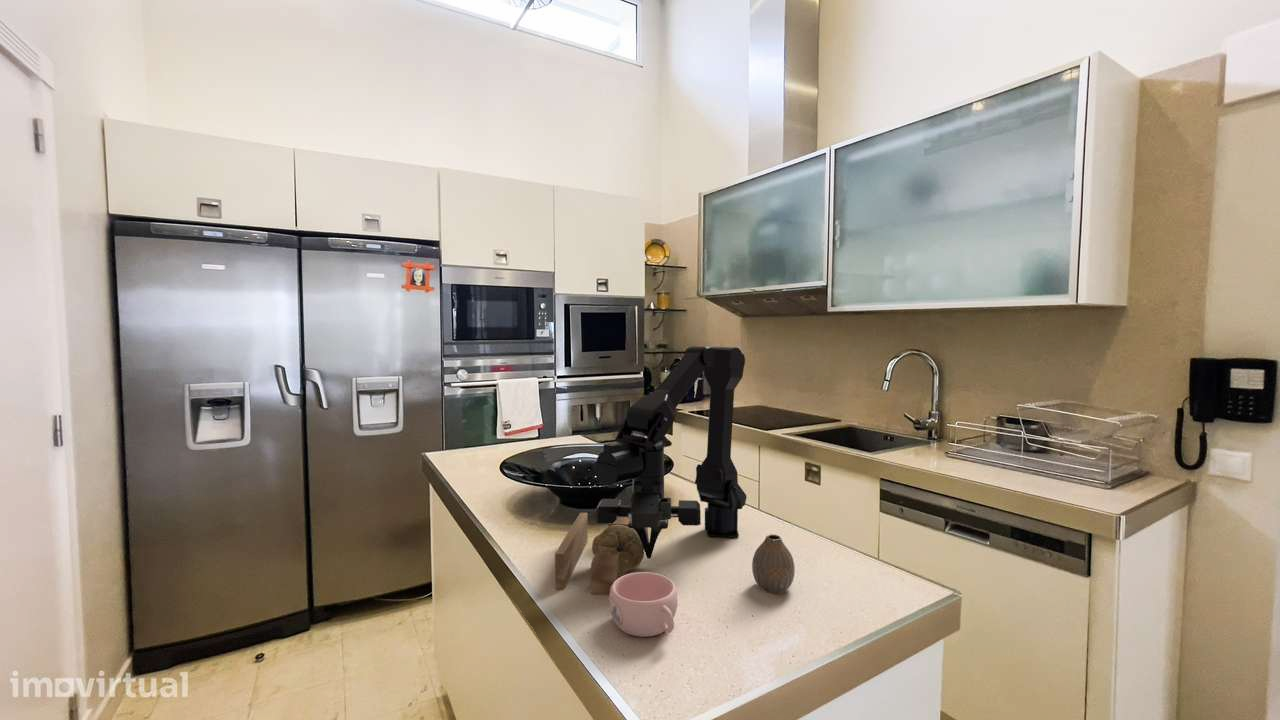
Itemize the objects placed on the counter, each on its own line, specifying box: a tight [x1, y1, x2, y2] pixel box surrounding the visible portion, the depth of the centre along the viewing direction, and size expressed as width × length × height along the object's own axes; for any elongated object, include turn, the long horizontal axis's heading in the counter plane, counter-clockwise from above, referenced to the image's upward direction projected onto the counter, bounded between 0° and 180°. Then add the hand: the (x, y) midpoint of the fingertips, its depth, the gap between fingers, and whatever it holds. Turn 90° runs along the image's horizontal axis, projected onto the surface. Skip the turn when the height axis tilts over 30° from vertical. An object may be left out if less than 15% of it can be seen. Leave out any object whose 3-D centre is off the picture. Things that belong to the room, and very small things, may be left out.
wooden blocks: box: [554, 512, 629, 596], centre depth 96 cm, size 10×22×6 cm, turn 174°
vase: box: [751, 534, 796, 595], centre depth 87 cm, size 7×7×9 cm
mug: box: [608, 571, 679, 638], centre depth 75 cm, size 12×10×6 cm
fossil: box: [591, 525, 645, 577], centre depth 96 cm, size 9×4×10 cm
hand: (649, 557), depth 96 cm, fingers closed
